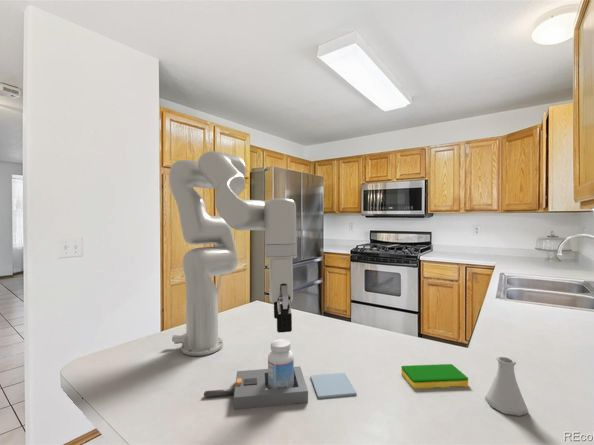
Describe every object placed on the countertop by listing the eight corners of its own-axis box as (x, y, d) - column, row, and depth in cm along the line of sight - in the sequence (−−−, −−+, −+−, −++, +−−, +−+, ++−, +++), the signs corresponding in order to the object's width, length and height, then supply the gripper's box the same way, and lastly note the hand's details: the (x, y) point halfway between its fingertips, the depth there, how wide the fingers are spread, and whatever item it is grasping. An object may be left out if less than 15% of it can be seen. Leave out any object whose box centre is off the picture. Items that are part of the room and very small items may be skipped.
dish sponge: (400, 374, 76) (400, 365, 76) (451, 372, 77) (451, 363, 77) (413, 390, 69) (413, 380, 69) (469, 388, 70) (469, 378, 70)
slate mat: (318, 398, 65) (318, 396, 65) (310, 377, 74) (310, 375, 74) (356, 394, 67) (356, 392, 67) (344, 374, 76) (344, 372, 76)
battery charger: (199, 412, 61) (199, 397, 61) (207, 383, 72) (207, 370, 72) (308, 402, 64) (308, 388, 64) (300, 376, 75) (300, 364, 75)
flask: (478, 396, 66) (478, 352, 66) (508, 395, 67) (508, 351, 67) (503, 418, 59) (503, 368, 59) (536, 416, 59) (536, 367, 59)
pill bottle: (297, 385, 71) (297, 339, 71) (288, 400, 65) (288, 350, 65) (274, 381, 73) (274, 336, 73) (263, 395, 67) (263, 346, 67)
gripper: (263, 249, 77) (265, 314, 76) (266, 255, 59) (268, 339, 59) (292, 248, 78) (293, 312, 77) (302, 254, 60) (304, 336, 60)
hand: (282, 324), depth 68 cm, fingers open, 9 cm apart
